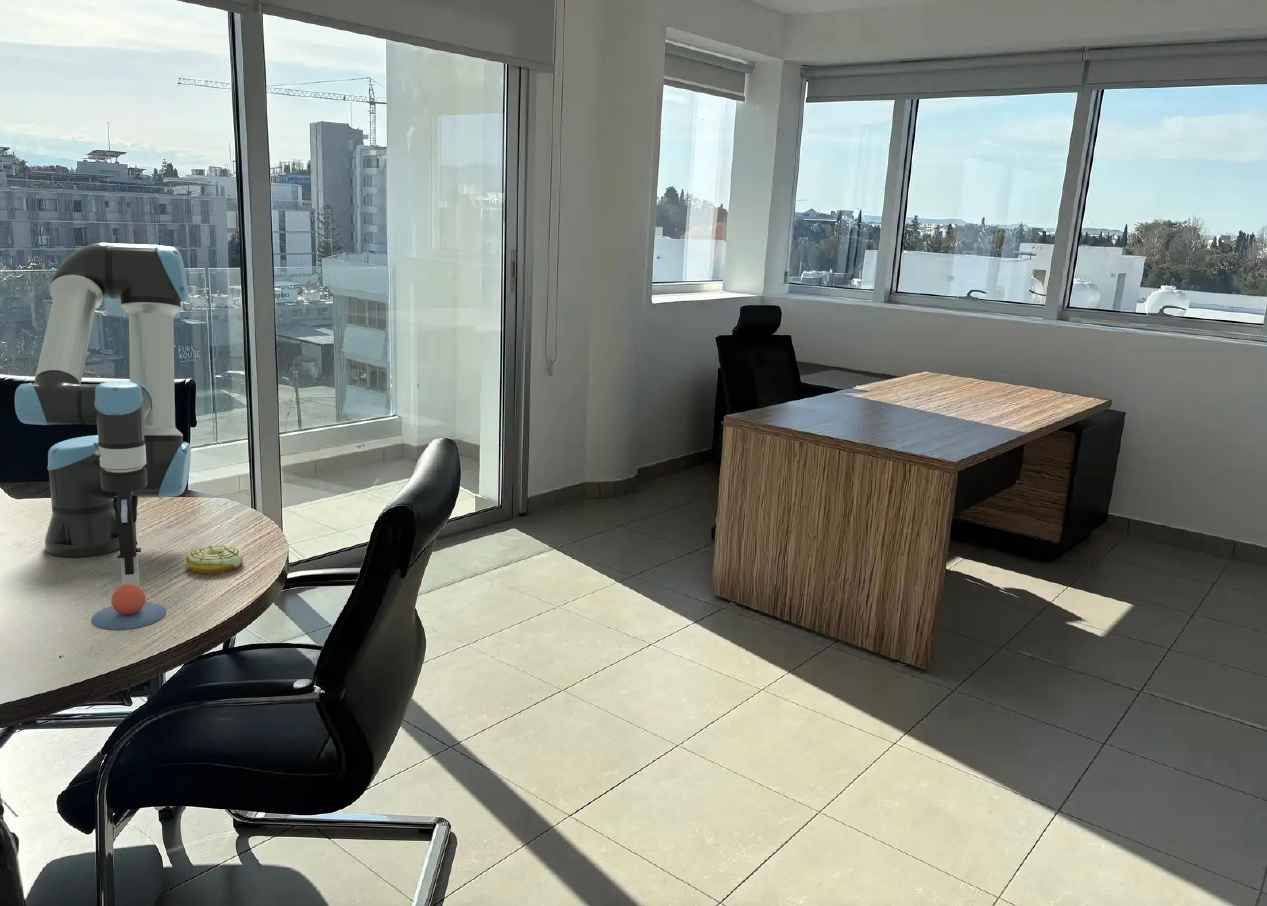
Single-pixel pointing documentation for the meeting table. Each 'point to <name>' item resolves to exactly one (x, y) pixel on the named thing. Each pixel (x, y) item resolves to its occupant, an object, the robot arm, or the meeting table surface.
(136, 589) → the ball
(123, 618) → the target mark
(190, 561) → the decorated donut
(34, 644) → the meeting table surface
